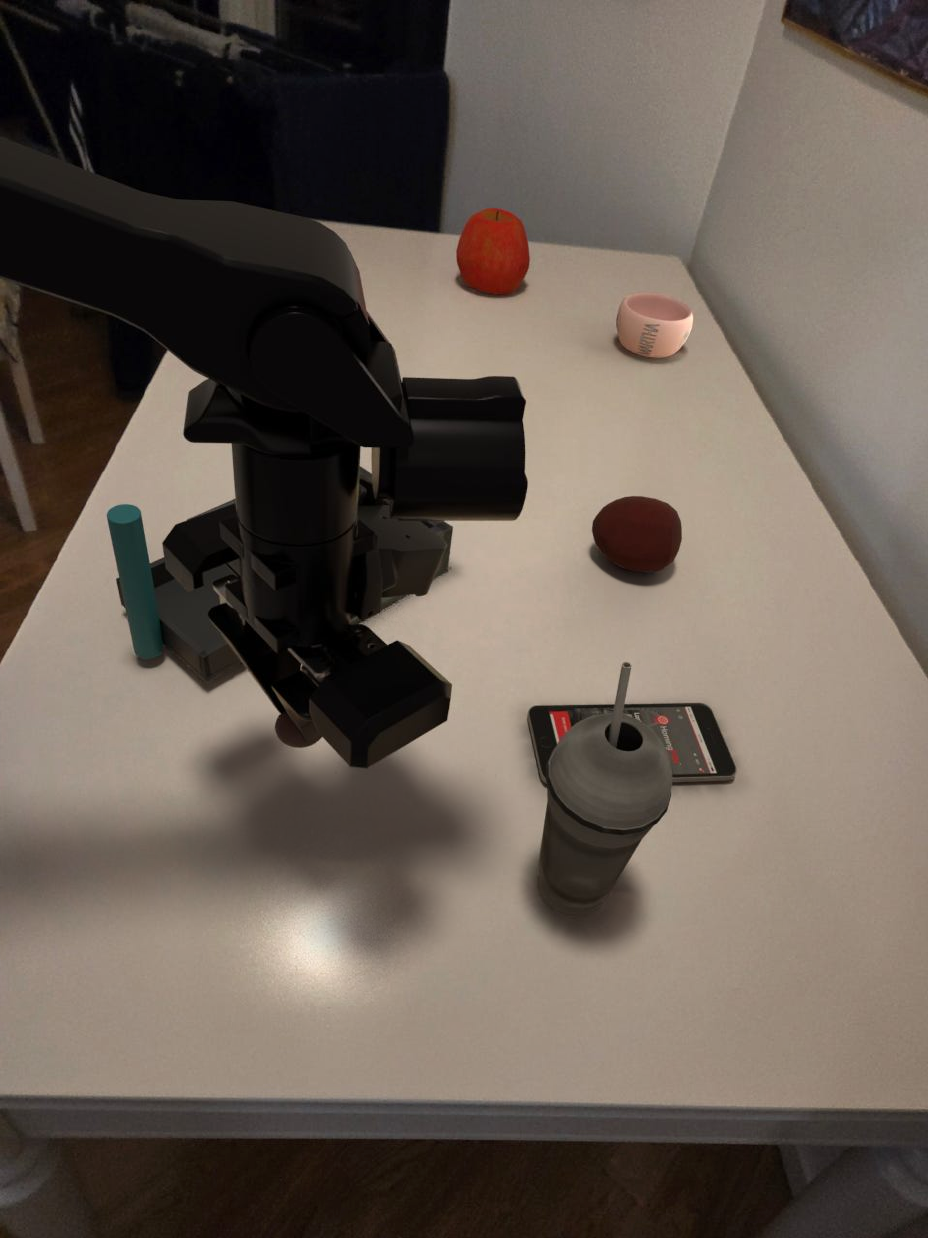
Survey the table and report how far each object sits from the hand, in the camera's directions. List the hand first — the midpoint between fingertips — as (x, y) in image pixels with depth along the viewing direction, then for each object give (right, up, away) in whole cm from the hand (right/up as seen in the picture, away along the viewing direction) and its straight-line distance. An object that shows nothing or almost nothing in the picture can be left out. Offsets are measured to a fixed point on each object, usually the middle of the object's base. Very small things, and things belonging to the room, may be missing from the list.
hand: (300, 723), depth 53 cm
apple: (+13, +56, +78) cm, 97 cm away
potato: (+26, +12, +33) cm, 43 cm away
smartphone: (+22, -4, +15) cm, 27 cm away
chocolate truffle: (0, -1, +1) cm, 1 cm away
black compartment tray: (-10, +7, +20) cm, 24 cm away
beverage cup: (+17, -12, +6) cm, 21 cm away
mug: (+35, +44, +69) cm, 89 cm away
